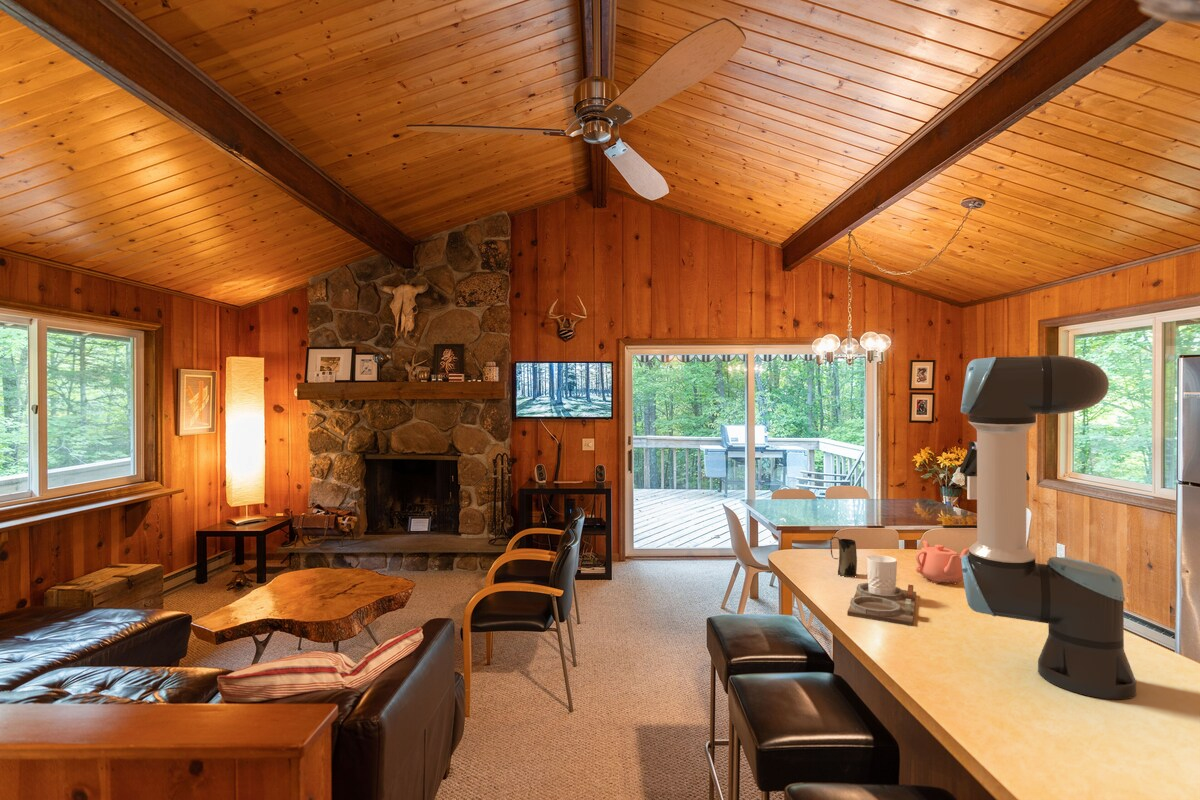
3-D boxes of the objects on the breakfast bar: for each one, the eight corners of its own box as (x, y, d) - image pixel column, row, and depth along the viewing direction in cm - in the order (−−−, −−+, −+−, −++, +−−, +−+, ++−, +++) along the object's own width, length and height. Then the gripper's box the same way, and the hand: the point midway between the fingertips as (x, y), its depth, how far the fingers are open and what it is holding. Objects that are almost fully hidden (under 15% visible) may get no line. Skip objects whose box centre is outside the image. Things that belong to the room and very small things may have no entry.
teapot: (922, 571, 197) (922, 537, 197) (972, 580, 186) (972, 545, 186) (906, 580, 187) (906, 544, 187) (957, 590, 176) (957, 553, 176)
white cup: (903, 596, 168) (903, 560, 168) (882, 599, 165) (882, 563, 165) (881, 588, 176) (880, 554, 176) (860, 591, 173) (860, 556, 173)
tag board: (912, 625, 149) (912, 609, 149) (847, 615, 156) (847, 599, 156) (916, 595, 172) (916, 581, 172) (859, 587, 180) (859, 574, 180)
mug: (853, 572, 195) (853, 535, 195) (859, 577, 189) (859, 539, 189) (828, 572, 196) (828, 535, 196) (833, 577, 190) (832, 539, 190)
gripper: (1046, 426, 154) (1046, 510, 153) (968, 424, 178) (967, 496, 178) (1022, 426, 152) (1021, 510, 152) (946, 424, 177) (945, 496, 176)
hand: (992, 503), depth 165 cm, fingers open, 13 cm apart
